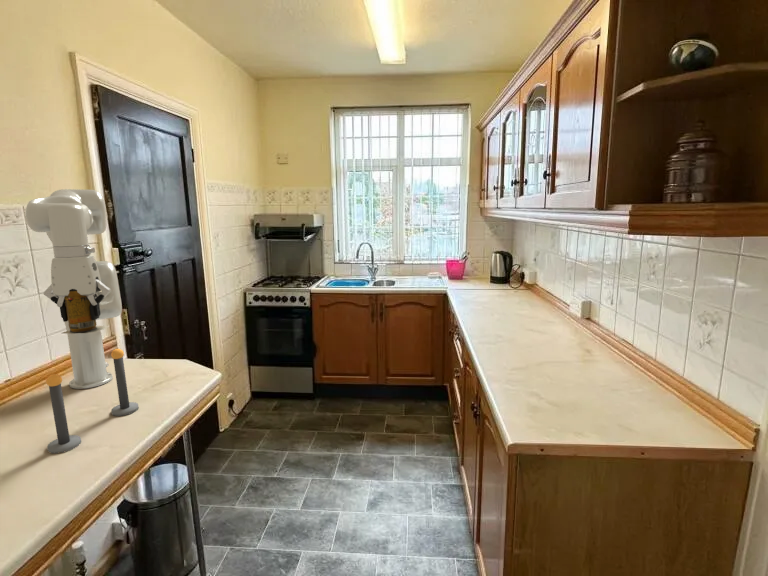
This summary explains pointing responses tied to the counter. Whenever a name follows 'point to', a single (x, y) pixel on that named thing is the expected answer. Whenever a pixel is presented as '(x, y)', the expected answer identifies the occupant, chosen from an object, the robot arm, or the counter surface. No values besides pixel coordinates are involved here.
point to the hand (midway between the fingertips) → (81, 318)
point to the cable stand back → (122, 386)
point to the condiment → (80, 314)
